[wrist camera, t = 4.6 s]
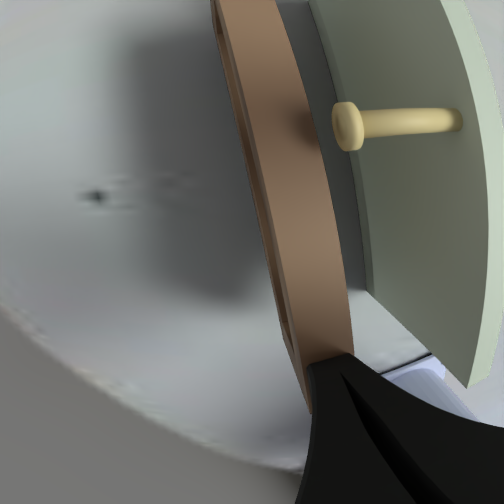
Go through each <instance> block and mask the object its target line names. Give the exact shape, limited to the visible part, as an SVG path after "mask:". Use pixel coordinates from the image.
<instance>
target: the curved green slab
mask: <svg viewBox="0 0 504 504" xmlns="http://www.w3.org/2000/svg"><path fill="white" fill-rule="evenodd" d="M308 3H309V6H310V9H311V12H312V15H313V18H314V21H315V24H316V27H317V30H318V33H319V36H320V39H321V42H322V46H323V49H324V52H325V56H326V59H327V63H328V66H329V70H330V73H331V77H332V81H333V85H334V89H335V93H336V97H337V101H338V103H335V104H334V106H333V109H332V127H333V132H334V135H335V138H336V141H337V143H338V145H339V146H340V148H341V149H342V150H343V151H349V156H350V162H351V167H352V173H353V179H354V185H355V191H356V198H357V205H358V212H359V219H360V227H361V235H362V244H363V253H364V264H365V275H366V288H367V292H368V293H369V294H370V295H371V296H372V297H373V298H375V299H376V300H377V301H378V302H379V303H380V304H381V305H382V306H383V307H384V308H385V309H386V310H387V311H388V312H390V313H391V314H392V315H393V316H394V317H395V318H396V319H397V320H398V321H399V322H400V323H401V324H402V325H403V326H404V327H405V328H406V329H407V330H408V331H409V332H410V333H412V334H413V335H414V336H415V337H416V338H417V339H418V340H419V341H420V342H421V343H422V344H423V345H424V346H425V347H426V348H427V349H428V350H429V351H430V352H431V353H432V354H433V355H434V356H435V357H436V358H437V359H438V360H439V361H440V362H441V363H442V364H443V365H444V366H445V367H446V368H447V369H448V370H449V371H450V372H451V373H452V374H453V375H454V376H455V377H456V378H457V379H458V380H459V381H460V382H461V384H462V385H463V386H464V387H465V388H466V389H468V388H470V387H471V386H473V385H475V384H476V383H478V382H480V381H481V380H483V379H485V378H486V377H488V376H489V373H490V369H491V366H492V362H493V358H494V354H495V350H496V346H497V341H498V337H499V332H500V327H501V322H502V316H503V310H504V130H503V124H502V119H501V113H500V109H499V104H498V99H497V95H496V91H495V87H494V83H493V79H492V76H491V72H490V69H489V65H488V62H487V59H486V56H485V53H484V50H483V47H482V44H481V41H480V39H479V36H478V33H477V31H476V28H475V25H474V23H473V21H472V18H471V16H470V13H469V11H468V9H467V7H466V4H465V2H464V0H308Z"/></svg>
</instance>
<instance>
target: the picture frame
mask: <svg viewBox="0 0 504 504" xmlns="http://www.w3.org/2000/svg"><path fill="white" fill-rule="evenodd" d="M210 3H211V12H212V21H213V28H214V32H215V36H216V40H217V45H218V49H219V53H220V57H221V61H222V65H223V70H224V74H225V78H226V82H227V87H228V91H229V95H230V99H231V104H232V108H233V112H234V117H235V121H236V125H237V130H238V134H239V138H240V143H241V147H242V151H243V156H244V160H245V165H246V169H247V173H248V178H249V182H250V187H251V191H252V196H253V200H254V205H255V209H256V214H257V218H258V223H259V228H260V232H261V237H262V241H263V246H264V250H265V255H266V260H267V264H268V269H269V274H270V278H271V283H272V288H273V292H274V297H275V302H276V307H277V311H278V316H279V321H280V326H281V330H282V335H283V340H284V342H285V345H286V348H287V351H288V354H289V356H290V359H291V362H292V365H293V368H294V370H295V373H296V376H297V379H298V381H299V384H300V387H301V390H302V393H303V395H304V398H305V401H306V404H307V407H308V409H309V412H310V414H312V403H311V397H310V390H309V384H308V377H307V371H306V367H307V366H308V365H309V364H311V363H315V362H319V361H322V360H326V359H329V358H333V357H336V356H340V355H343V354H346V353H350V354H352V355H353V356H354V346H353V336H352V327H351V318H350V310H349V302H348V294H347V287H346V280H345V273H344V267H343V260H342V254H341V248H340V242H339V236H338V231H337V225H336V220H335V215H334V210H333V205H332V200H331V195H330V190H329V185H328V181H327V176H326V171H325V167H324V163H323V158H322V154H321V150H320V146H319V142H318V138H317V134H316V130H315V126H314V122H313V118H312V115H311V111H310V107H309V104H308V100H307V96H306V93H305V89H304V86H303V83H302V79H301V76H300V73H299V69H298V66H297V63H296V60H295V57H294V54H293V50H292V47H291V44H290V41H289V38H288V36H287V33H286V30H285V27H284V24H283V21H282V18H281V16H280V13H279V10H278V8H277V5H276V2H275V0H210Z"/></svg>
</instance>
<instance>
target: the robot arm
mask: <svg viewBox="0 0 504 504" xmlns="http://www.w3.org/2000/svg"><path fill="white" fill-rule="evenodd" d="M306 371H307V377H308V384H309V390H310V397H311V403H312V424H311V434H310V443H309V449H308V455H307V460H306V465H305V469H304V474H303V477H302V481H301V485H300V488H299V492H298V496H297V498H296V502H295V504H504V428H502V427H497V426H493V425H489V424H485V423H481V422H480V421H479V420H478V419H477V418H476V416H475V415H474V414H473V413H472V412H471V411H470V410H469V408H468V407H467V406H466V405H465V404H464V403H463V402H462V401H461V399H460V398H459V397H458V396H457V395H456V394H455V393H454V392H453V391H452V389H451V388H450V387H449V386H448V385H447V384H446V383H445V382H444V376H445V371H446V367H445V366H444V365H443V364H442V363H441V362H440V361H439V360H438V359H437V358H436V357H435V356H434V355H433V354H432V355H430V356H428V357H425V358H423V359H421V360H418V361H416V362H414V363H411V364H409V365H406V366H404V367H401V368H399V369H396V370H393V371H391V372H388V373H385V374H383V375H380V374H378V373H377V372H375V371H374V370H372V369H371V368H370V367H368V366H367V365H365V364H364V363H363V362H361V361H360V360H359V359H357V358H356V357H355V356H353V355H352V354H350V353H346V354H343V355H340V356H336V357H333V358H329V359H326V360H322V361H319V362H315V363H311V364H309V365H308V366H307V367H306Z"/></svg>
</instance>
